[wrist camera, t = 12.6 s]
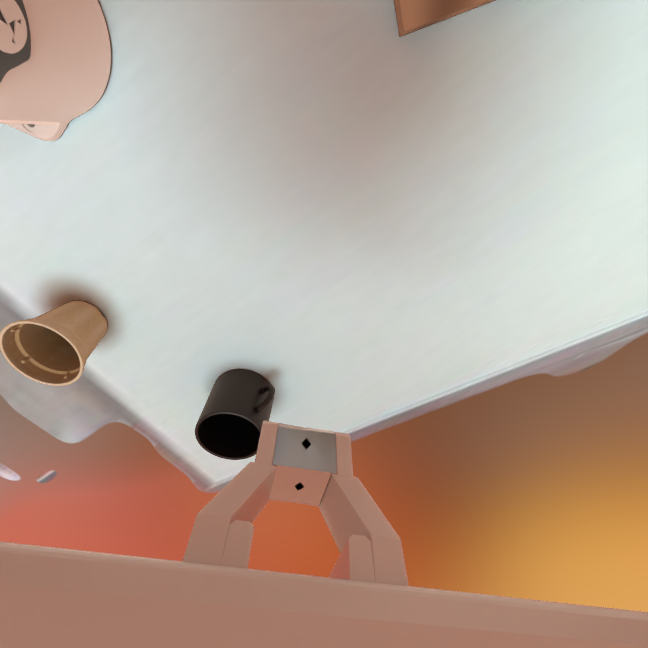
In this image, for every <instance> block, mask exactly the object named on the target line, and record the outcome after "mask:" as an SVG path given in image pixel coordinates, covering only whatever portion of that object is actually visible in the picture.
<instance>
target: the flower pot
mask: <svg viewBox="0 0 648 648" xmlns="http://www.w3.org/2000/svg"><path fill="white" fill-rule="evenodd" d="M107 328H108V326H107V321H106V318H105V317H103V316H102V314H101V313H100V311H99V310H98V309H97V308H96V307H94V306H93V305H91V304H89V303H86V302H83V301H71V302H68V303H66V304H64V305H62V306H60V307H58V308H55V309H53V310H51V311H49V312H47V313H45V314H42V315H40V316H38V317H36V318H32V319H27V320H20V321H16V322H13V323H11V324H9V325H7V326H6V327H5V328H4V329H3V330H2V331H1V333H0V349H1V351H2V353H3V355H4V356H5V359H6V360H7V361H8V362H9V364H10V365H11V366H12V367H13V368H14V369H16V370H17V371H18V372H20V373H21V374H23V375H24V376H26V377H28V378H30V379H32V380H34V381H37V382H39V383H42V384H47V385H53V386H62V385H68V384H71V383H73V382H75V381H76V380H78V379H79V377H80V376H81V375H82V373H83V370H84V366H85V363H86V360H87V358H88V357H89V356H90V354H91V353H92V351H93V350H94V349H95V347H96V346H97V344H98V343H99V342H100V340H101V339H102V338H103V336H104V335H105V334H106V332H107Z"/></svg>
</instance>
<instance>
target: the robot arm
mask: <svg viewBox="0 0 648 648" xmlns="http://www.w3.org/2000/svg"><path fill="white" fill-rule="evenodd" d="M110 67H111V48H110V40H109V34H108V30H107V26H106V22H105V19H104V16H103V13H102V10H101V7H100V5H99V3H98V0H0V123H4V124H7V125H9V126H11V127H14V128H16V129H18V130H20V131H23V132H25V133H27V134H30V135H32V136H34V137H36V138H39V139H41V140H45V141H55V140H57V139H58V138H59V137H60V136H61V135H62V133H63V132H64V130H65V128H66V127H67V125H68V123H69V122H70V121H71V120H72V119H74V118H76V117H78V116H80V115H82V114H83V113H85V112H87V111H88V110H90V109H91V108H92V107H93V106H94V105H95V104H96V103H97V102H98V101H99V99H100V98H101V96H102V94H103V92H104V90H105V88H106V85H107V82H108V79H109V74H110ZM33 124H35V126H34V125H33ZM269 500H275V501H285V502H294V503H301V504H307V505H313V506H319V509H320V511H321V513H322V515H323V517H324V519H325V521H326V523H327V525H328V528H329V529H330V532H331V534H332V536H333V538H334V540H335V542H336V544H337V546H338V549H339V551H340V553H341V554H340V557H339V558H338V560H337V562H336V564H335V566H334V568H333V570H332V572H331V574H330V576H329V577H319V576H311V575H300V574H292V573H283V572H273V571H265V570H255V569H248V562H249V556H250V549H251V544H252V536H253V530H254V526H253V525H252V522H253V521H254V520H255V518H256V517H257V516H258V515H259V513H260V512H261V511H262V509H263V508H264V507H265V505H266V504H267V503H268V501H269ZM0 648H648V612H640V611H630V610H621V609H613V608H604V607H595V606H584V605H575V604H567V603H557V602H548V601H539V600H530V599H521V598H512V597H502V596H493V595H483V594H474V593H465V592H456V591H447V590H438V589H428V588H420V587H410V586H408V580H407V574H406V568H405V562H404V556H403V550H402V544H401V539H400V538H399V536H398V535H397V533H396V532H395V531H394V529H393V528H392V526H391V525H390V523H389V522H388V520H387V519H386V518H385V516H384V515H383V514H382V512H381V510H380V509H379V508H378V506H377V505H376V503H375V502H374V501H373V499H372V498H371V496H370V495H369V493H368V492H367V490H366V489H365V487H364V486H363V485H362V483H361V482H360V480H359V479H358V478H357V477H353V467H352V455H351V440H350V435H349V434H345V433H339V432H334V431H327V430H320V429H313V428H303V427H298V426H293V425H287V424H282V423H275V422H270V421H263V424H262V428H261V433H260V438H259V443H258V448H257V453H256V458H255V462H250V463H249V464H248V465H247V466H246V467H245V468H244V469H243V470H242V471H241V472H240V473H239V474H238V475H236V476H235V477H234V478H233V479H232V480H231V481H230V482H229V483H228V484H227V485H226V486H225V487H224V488H223V489H222V490H221V491H220V492H219V493H218V494H217V495H216V496H215V497H214V498H213V499H212V500H211V501H210V502H209V503H208V504H207V505H206V506H205V507H204V508H203V509H202V510H201V511H200V512H199V513H198V514H197V517H196V520H195V524H194V527H193V530H192V533H191V536H190V539H189V542H188V546H187V549H186V552H185V555H184V558H183V561H182V562H181V561H173V560H163V559H153V558H145V557H135V556H126V555H118V554H108V553H99V552H89V551H81V550H72V549H62V548H53V547H43V546H35V545H26V544H16V543H7V542H0Z"/></svg>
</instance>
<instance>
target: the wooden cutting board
mask: <svg viewBox="0 0 648 648" xmlns="http://www.w3.org/2000/svg"><path fill="white" fill-rule="evenodd" d="M492 1H495V0H394V5H395V11H396V18H397V24H398V31H399V37H401V36H403V35H406V34H408V33H411V32H414V31H416V30H419V29H422V28H424V27H427V26H429V25H432V24H435V23H437V22H440V21H443V20H445V19H448V18H450V17H453V16H456V15H458V14H461V13H464V12H466V11H469V10H471V9H474V8H477V7H479V6H482V5H485V4H487V3H490V2H492Z"/></svg>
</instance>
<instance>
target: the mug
mask: <svg viewBox="0 0 648 648" xmlns="http://www.w3.org/2000/svg"><path fill="white" fill-rule="evenodd" d="M274 393H275V388H274V387H273V386H272V385H270V384H269V383H268V381H267V380H266V379H265V378H263V377H262V376H260V375H259V374H257V373H254V372H252V371H248V370H233V371H229V372H226V373H225V374H223V375H221V376H220V377H219V378H218V379H217V380H216V382H215V384H214V386H213V388H212V391H211V393H210V395H209V397H208V400H207V402H206V404H205V406H204V409H203V411H202V413H201V416H200V418H199V420H198V422H197V425H196V428H195V435H196V439H197V441H198V442H199V444H200V445H201V446H202V447H203V448H204V449H205V450H206V451H208V452H209V453H211V454H213V455H215V456H218V457H220V458H224V459H231V460H240V459H246V458H249V457H251V456H254V455H255V454H256V453H257V448H258V443H259V438H260V433H261V428H262V424H263V421H269V418H270V413H271V408H272V403H273V398H274Z"/></svg>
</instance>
